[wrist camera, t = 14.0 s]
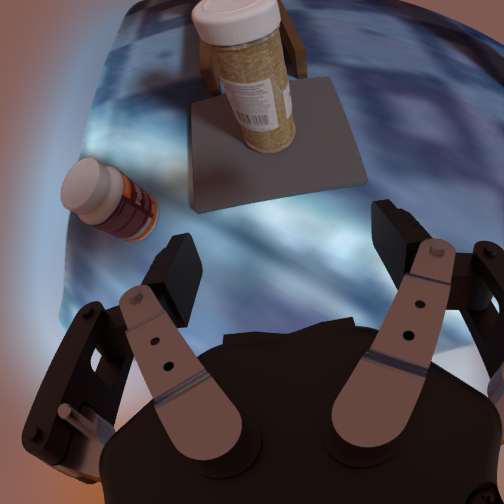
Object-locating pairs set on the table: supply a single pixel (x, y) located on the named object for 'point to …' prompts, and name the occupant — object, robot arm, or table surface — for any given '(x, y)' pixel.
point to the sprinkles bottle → (250, 67)
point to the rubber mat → (273, 164)
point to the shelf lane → (290, 41)
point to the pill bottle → (109, 200)
